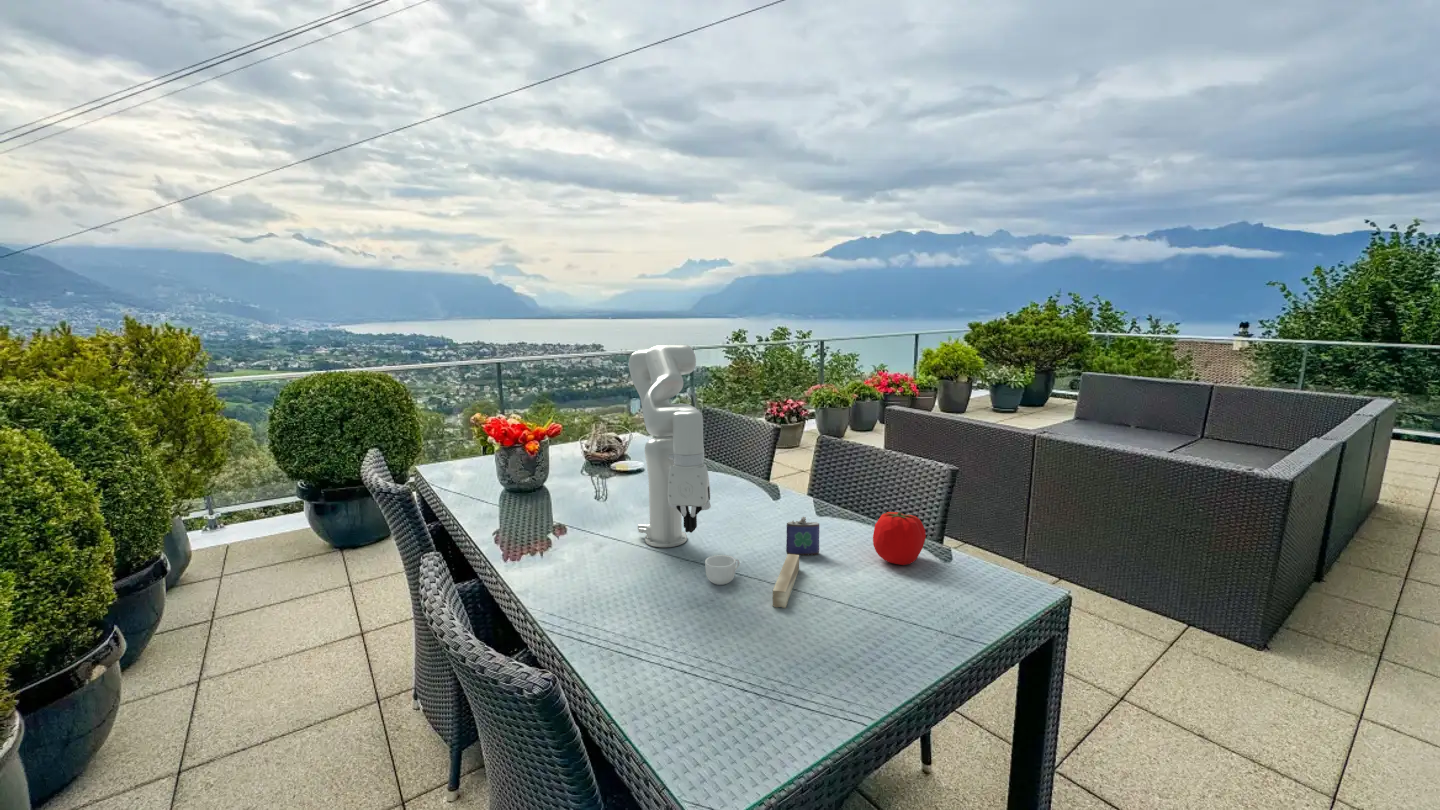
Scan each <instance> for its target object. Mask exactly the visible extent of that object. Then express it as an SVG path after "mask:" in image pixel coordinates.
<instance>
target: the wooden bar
mask: <svg viewBox="0 0 1440 810" xmlns="http://www.w3.org/2000/svg"><path fill="white" fill-rule="evenodd" d="M799 571H800V556H799V555H795V554H787V555H786V557H785V559H784V562H783V565H782V566H781V569H780V572H779V573H778V576H777V578H776V582H775V583H774V586H773V588H772V607H773V606H774V607H773V608H778V607H782V608H781V609H787V606H788V603H789V599H790V597H791V594H792V592H791V591H793V588H794V585H795V582H796V579H797V576H798V574H799Z"/></svg>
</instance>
